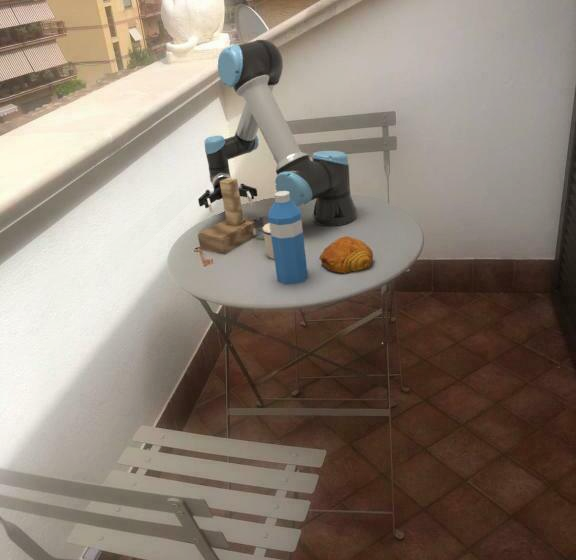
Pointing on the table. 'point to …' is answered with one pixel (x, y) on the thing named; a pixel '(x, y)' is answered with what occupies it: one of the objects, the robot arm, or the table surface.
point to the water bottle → (287, 240)
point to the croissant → (347, 255)
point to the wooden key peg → (232, 201)
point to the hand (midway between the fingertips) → (230, 204)
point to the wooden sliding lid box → (225, 236)
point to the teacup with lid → (268, 241)
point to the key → (203, 257)
